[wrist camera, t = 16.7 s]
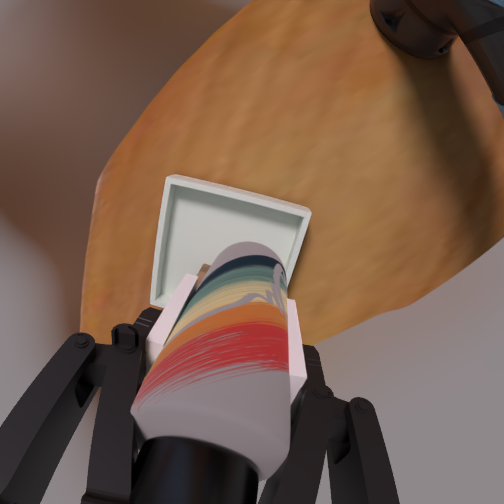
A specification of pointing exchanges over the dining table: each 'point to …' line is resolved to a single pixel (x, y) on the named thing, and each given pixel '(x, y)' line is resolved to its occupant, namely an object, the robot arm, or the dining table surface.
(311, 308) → the dining table surface
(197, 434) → the lotion bottle
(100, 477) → the robot arm
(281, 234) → the tray
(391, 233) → the dining table surface
